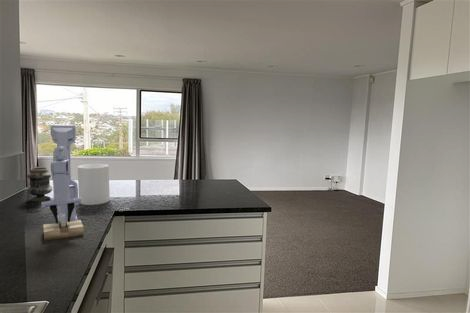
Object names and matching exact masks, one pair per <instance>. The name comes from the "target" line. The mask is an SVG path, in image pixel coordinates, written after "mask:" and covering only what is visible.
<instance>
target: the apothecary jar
mask: <svg viewBox="0 0 470 313" xmlns="http://www.w3.org/2000/svg"><path fill="white" fill-rule="evenodd" d="M26 176H27V178H28V179H29V181H30V182H29V187H28V188H27V193H28V194H29V195H32V196H34V197H32V198H31V199H30V201H31V202H45V201H49V200H51V197H50V196H48V194H50V193H52V191H53V186H52V185H51V183H50V178H52V174H51V170H49V168H48V167H46V166H36V167H35V166H34V167H31V168H30V172H28V174H27V175H26Z"/></svg>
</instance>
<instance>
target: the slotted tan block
mask: <svg viewBox="0 0 470 313" xmlns="http://www.w3.org/2000/svg"><path fill="white" fill-rule="evenodd" d="M42 226H43V227H42V228H43V239H44V241H45V242H47V241H53V240H58V239H64V238H71V237H77V236H78V237H79V236H84V234H85V233H84V230H85V229H84V225H83V222H82V220H81V219H78V220H72V221H70V222H68V221H66V228H61V222H58V224H56V222H53V223H45V224H43V225H42Z"/></svg>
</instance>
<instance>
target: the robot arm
mask: <svg viewBox="0 0 470 313" xmlns="http://www.w3.org/2000/svg"><path fill="white" fill-rule="evenodd" d="M76 132H77V131H76V125H75V124H74V123H73V124H53V123H52V124H51V125H50V137H51V139H52V141H53V143H54V144H56V147H55V148H54V149H53V153H52V154H53V156H52V161H51V162H50V172H51V174H52V175H51V179H52V191H53V199H52V200H51V199H50V200H46V201H40V202H41V203H40V204H41V208H42V209H43V208H48V207H49V209H50V212H51V213H52V215H53V217H54V220H55V223H56V224H58V223H59V222H60V214H61V213H65V219H66V221H68V222H70V221H73V220H79V219H78V217H77V216H78V215H77V213H76V211H77V209H76V204H80V203H82V198H79V187H78V181H75V180H74V179H72V172H71V169H72V168H71V147H72V144H74V143H76V135H77V134H76ZM80 205H81V204H80Z"/></svg>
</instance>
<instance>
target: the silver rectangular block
mask: <svg viewBox="0 0 470 313" xmlns="http://www.w3.org/2000/svg"><path fill="white" fill-rule="evenodd" d="M60 222H61V228H66V219H65V213H61V214H60Z"/></svg>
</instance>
